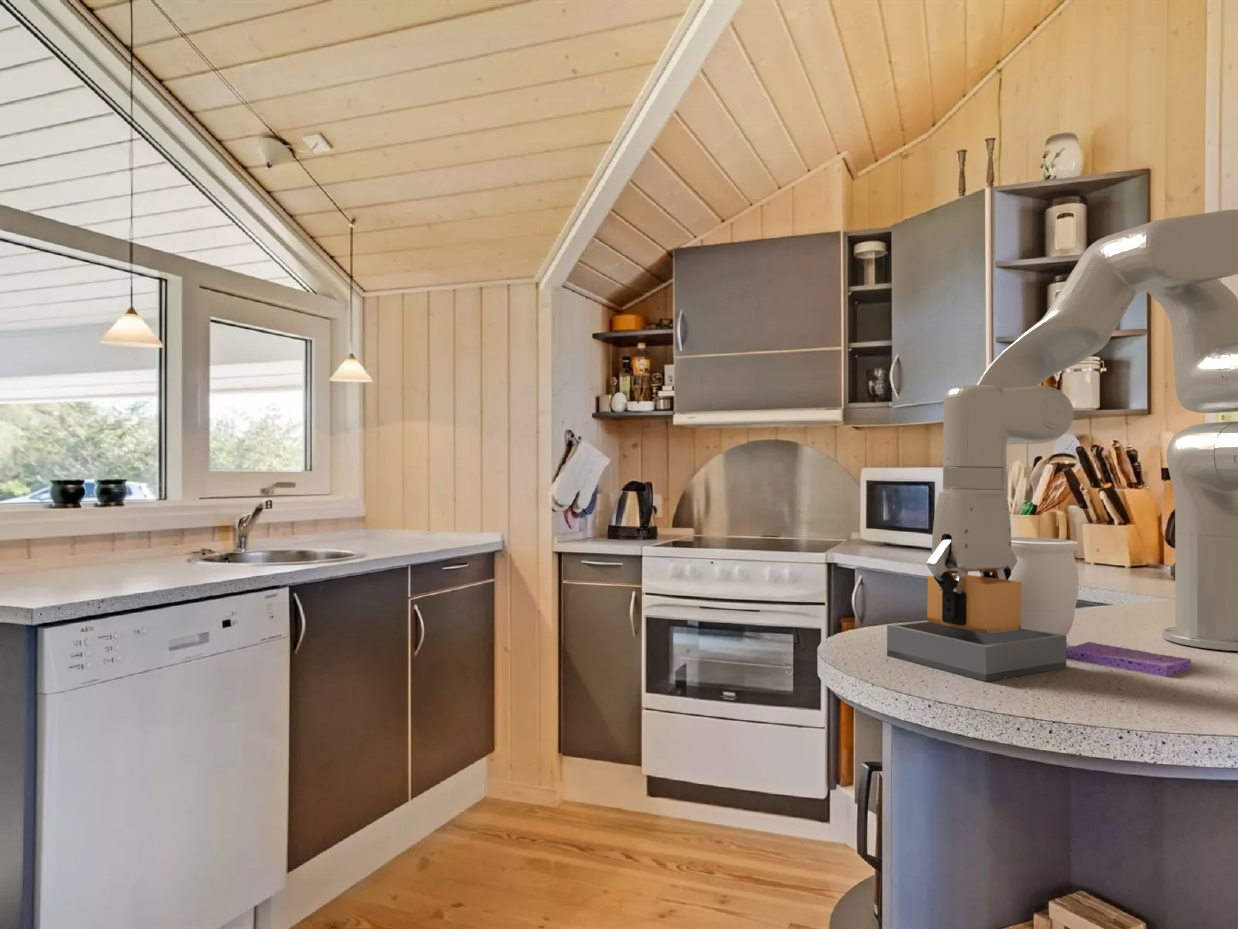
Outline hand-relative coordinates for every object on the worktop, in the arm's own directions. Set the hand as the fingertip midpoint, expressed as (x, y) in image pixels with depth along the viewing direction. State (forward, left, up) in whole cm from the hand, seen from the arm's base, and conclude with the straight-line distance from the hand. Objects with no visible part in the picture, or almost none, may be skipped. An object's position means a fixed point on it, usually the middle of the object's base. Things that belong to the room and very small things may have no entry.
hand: (973, 620), depth 104 cm
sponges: (-17, +9, -6) cm, 20 cm away
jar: (-15, -2, -6) cm, 16 cm away
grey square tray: (0, 0, -5) cm, 5 cm away
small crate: (0, 0, -1) cm, 1 cm away
